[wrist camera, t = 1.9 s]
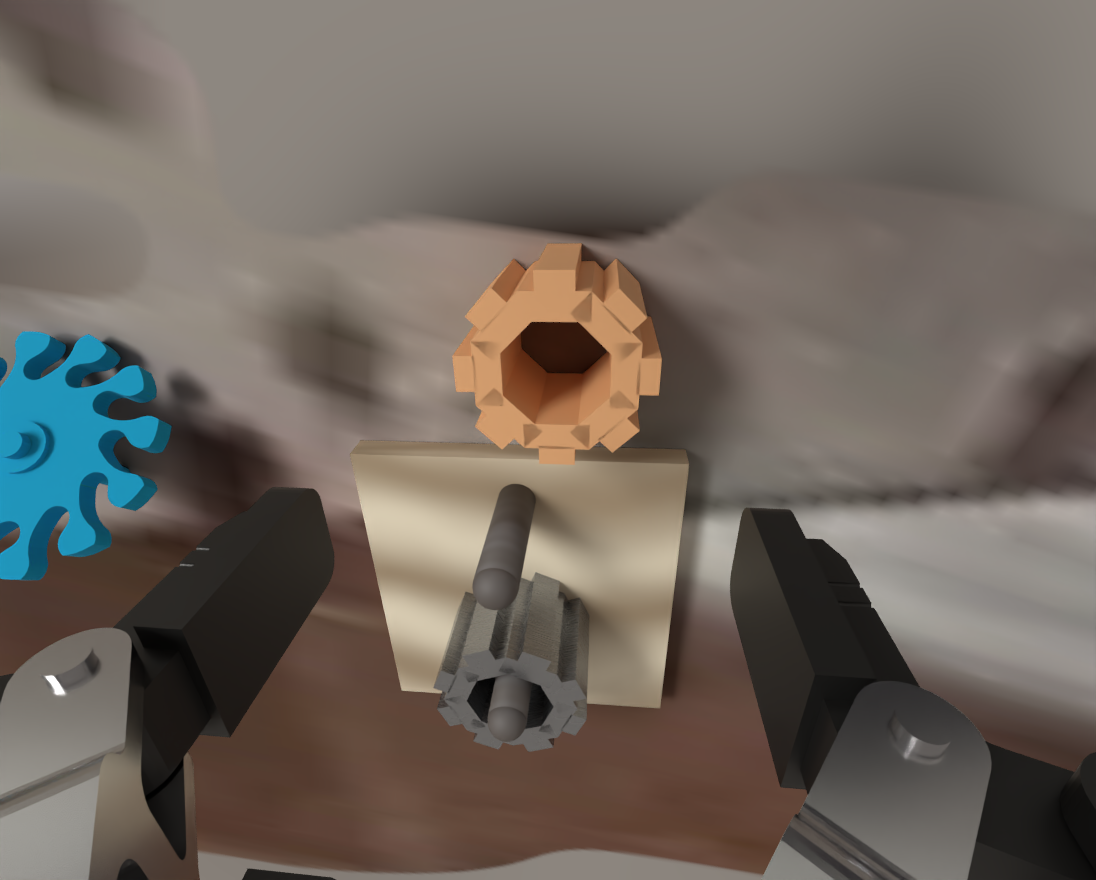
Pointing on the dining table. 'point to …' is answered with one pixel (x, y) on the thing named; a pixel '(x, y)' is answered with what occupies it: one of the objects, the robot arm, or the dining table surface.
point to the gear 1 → (559, 398)
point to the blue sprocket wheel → (66, 449)
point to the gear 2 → (519, 662)
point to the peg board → (526, 554)
